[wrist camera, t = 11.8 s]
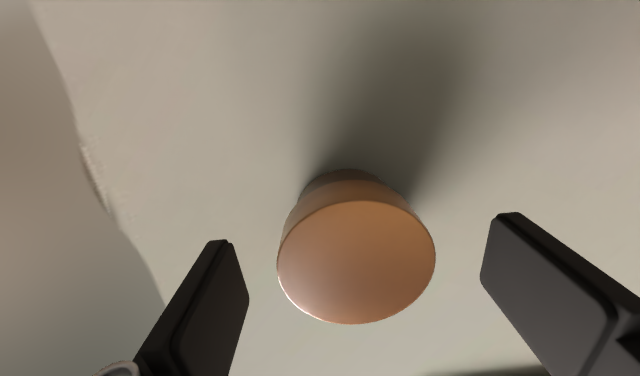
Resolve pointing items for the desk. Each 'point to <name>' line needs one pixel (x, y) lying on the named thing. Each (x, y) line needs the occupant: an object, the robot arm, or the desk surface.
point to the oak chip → (354, 253)
